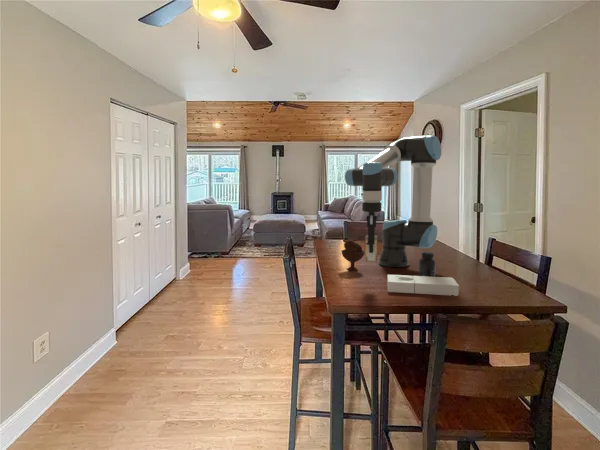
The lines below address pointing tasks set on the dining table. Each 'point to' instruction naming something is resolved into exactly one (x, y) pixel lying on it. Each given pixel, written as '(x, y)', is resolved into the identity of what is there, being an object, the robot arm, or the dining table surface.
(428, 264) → the supplement bottle
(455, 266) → the dining table surface
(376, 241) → the gold grey cylinder
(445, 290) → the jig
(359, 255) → the ice cream bowl
